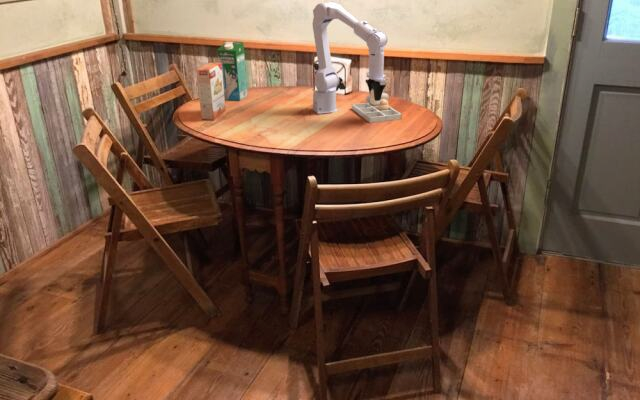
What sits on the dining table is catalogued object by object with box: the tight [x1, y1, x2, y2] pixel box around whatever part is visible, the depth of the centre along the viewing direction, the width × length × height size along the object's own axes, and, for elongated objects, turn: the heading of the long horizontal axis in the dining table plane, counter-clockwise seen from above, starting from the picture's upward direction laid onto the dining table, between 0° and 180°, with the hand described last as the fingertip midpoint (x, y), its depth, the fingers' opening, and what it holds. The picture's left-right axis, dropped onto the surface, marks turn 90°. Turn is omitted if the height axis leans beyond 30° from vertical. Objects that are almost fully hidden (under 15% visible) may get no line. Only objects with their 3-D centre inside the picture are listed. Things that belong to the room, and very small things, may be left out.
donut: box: [365, 92, 390, 103], centre depth 239 cm, size 10×4×10 cm
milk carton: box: [217, 41, 249, 102], centre depth 250 cm, size 9×9×25 cm
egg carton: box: [351, 102, 403, 124], centre depth 227 cm, size 14×20×2 cm
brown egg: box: [379, 99, 389, 111], centre depth 227 cm, size 4×4×6 cm
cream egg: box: [369, 89, 380, 104], centre depth 217 cm, size 4×4×6 cm
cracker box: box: [196, 62, 226, 121], centre depth 227 cm, size 14×6×21 cm, turn 168°
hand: (375, 98), depth 217 cm, fingers closed on cream egg, 4 cm apart
